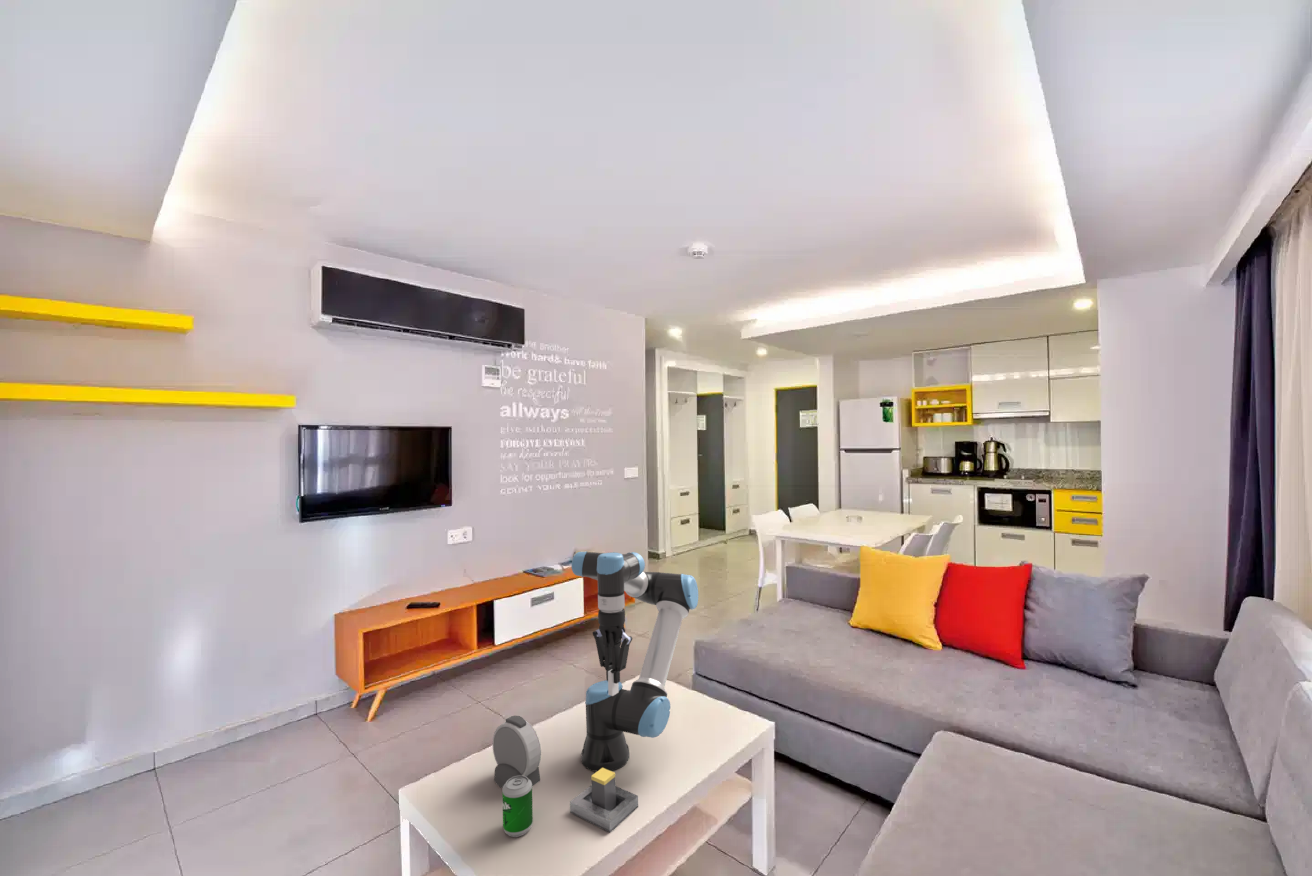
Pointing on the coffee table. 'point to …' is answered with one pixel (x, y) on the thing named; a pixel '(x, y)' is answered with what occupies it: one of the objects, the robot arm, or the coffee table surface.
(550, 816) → the coffee table surface
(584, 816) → the socket plate
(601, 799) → the plug
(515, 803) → the soda can
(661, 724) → the robot arm
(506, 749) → the alarm clock
